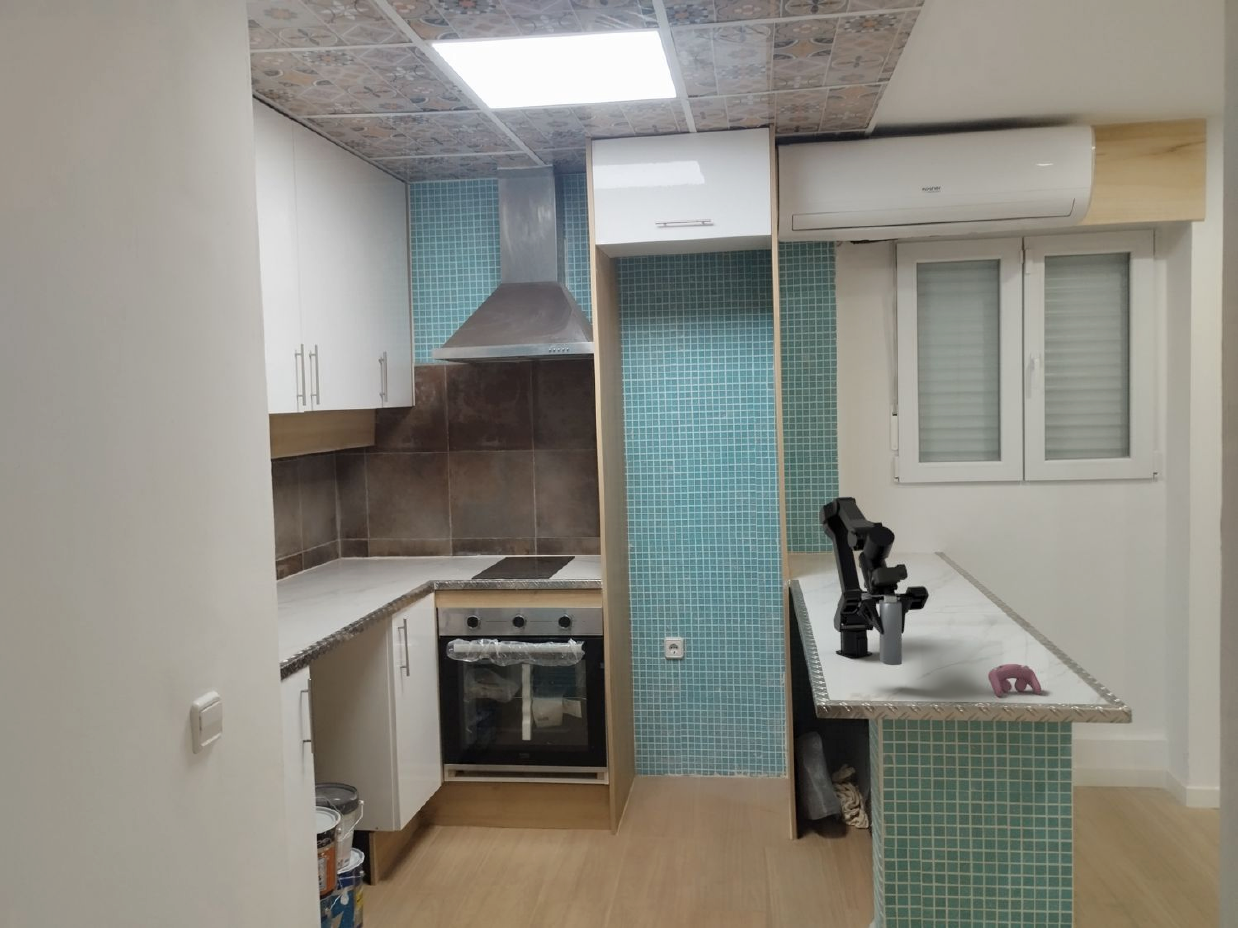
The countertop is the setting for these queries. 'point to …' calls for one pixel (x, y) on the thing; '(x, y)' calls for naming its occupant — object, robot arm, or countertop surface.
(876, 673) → the countertop surface
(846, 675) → the countertop surface
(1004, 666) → the video game controller
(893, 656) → the grey bottle
